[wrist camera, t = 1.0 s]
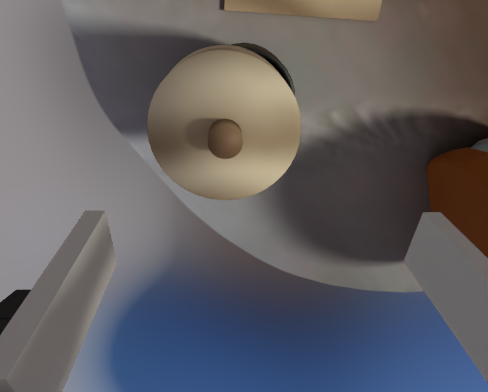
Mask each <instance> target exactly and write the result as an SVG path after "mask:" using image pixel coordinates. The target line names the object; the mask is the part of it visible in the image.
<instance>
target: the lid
mask: <svg viewBox="0 0 488 392" xmlns="http://www.w3.org/2000/svg"><path fill="white" fill-rule="evenodd" d="M147 132H148V139H149V143H150V146H151V150H152V152H153V154H154V156H155V159H156V160H157V162H158V164H159V165H160V167H161V168H162V169H163V171H164V172H165V173H166V174H167V175H168V176H169V177H170V178H171V179H172V180H173V181H174V182H175V183H177V184H178V185H179V186H181V187H182V188H184V189H186V190H187V191H189V192H192V193H194V194H196V195H199V196H202V197H206V198H210V199H217V200H234V199H241V198H245V197H249V196H251V195H254V194H257V193H259V192H261V191H263V190H265V189H266V188H268V187H269V186H271V185H272V184H274V183H275V182H276V181H277V180H278V179H279V178H280V177H281V176H282V175H283V174H284V173H285V172H286V170H287V169H288V168H289V166H290V165H291V163H292V161H293V159H294V157H295V155H296V153H297V150H298V147H299V143H300V138H301V116H300V111H299V107H298V104H297V101H296V99H295V96H294V94H293V92H292V90H291V89H290V87H289V86H288V84H287V83H286V82H285V80H284V79H283V78H282V76H281V75H280V74H279V72H278V71H277V70H276V69H275V68H274V67H273V65H272V64H271V63H269V62H268V61H267V60H266V59H265V58H263V57H262V56H260V55H259V54H257V53H255V52H253V51H251V50H248V49H246V48H242V47H239V46H233V45H214V46H208V47H205V48H202V49H199V50H197V51H194V52H192V53H190V54H189V55H187V56H186V57H184V58H183V59H182V60H181V61H179V62H178V63H177V64H176V65H175V66H174V68H173V69H172V70H171V71H170V72H169V73H168V75H167V76H166V77H165V78H164V79H163V81H162V82H161V83H160V85H159V86H158V88H157V90H156V91H155V93H154V96H153V98H152V100H151V103H150V107H149V111H148V118H147Z"/></svg>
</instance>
